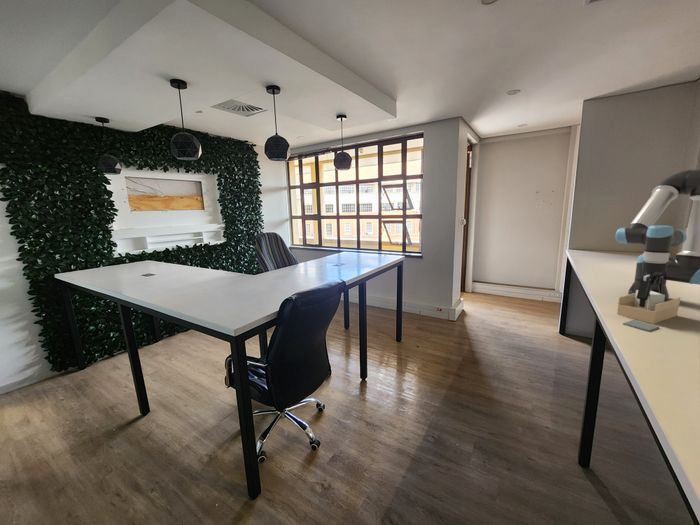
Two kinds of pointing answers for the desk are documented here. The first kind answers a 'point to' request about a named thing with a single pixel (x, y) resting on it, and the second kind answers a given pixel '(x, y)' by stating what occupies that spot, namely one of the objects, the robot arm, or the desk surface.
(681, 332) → the desk surface
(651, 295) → the small box
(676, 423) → the desk surface
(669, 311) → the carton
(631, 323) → the mat
